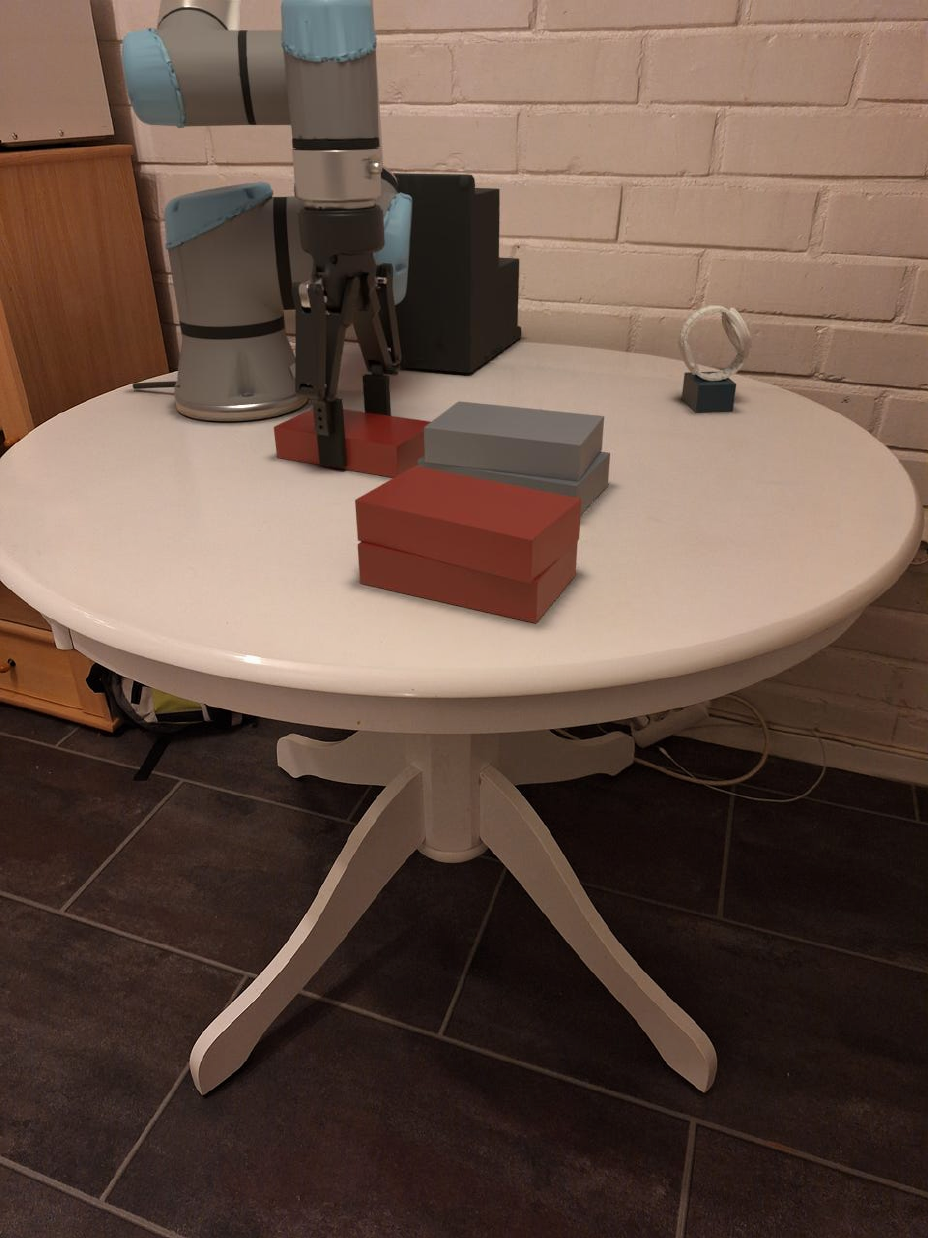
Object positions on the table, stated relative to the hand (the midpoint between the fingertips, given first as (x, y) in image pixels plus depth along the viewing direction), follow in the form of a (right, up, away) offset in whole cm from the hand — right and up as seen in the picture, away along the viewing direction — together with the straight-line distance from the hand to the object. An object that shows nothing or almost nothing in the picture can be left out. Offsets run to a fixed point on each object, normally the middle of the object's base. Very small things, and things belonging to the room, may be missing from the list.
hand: (357, 450), depth 91 cm
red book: (0, 0, 0) cm, 0 cm away
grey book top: (+15, -2, -10) cm, 18 cm away
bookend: (+11, +21, +37) cm, 44 cm away
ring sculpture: (+39, +8, +15) cm, 43 cm away
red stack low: (+11, -14, -24) cm, 30 cm away
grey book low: (+15, -5, -8) cm, 18 cm away
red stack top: (+11, -11, -25) cm, 30 cm away
